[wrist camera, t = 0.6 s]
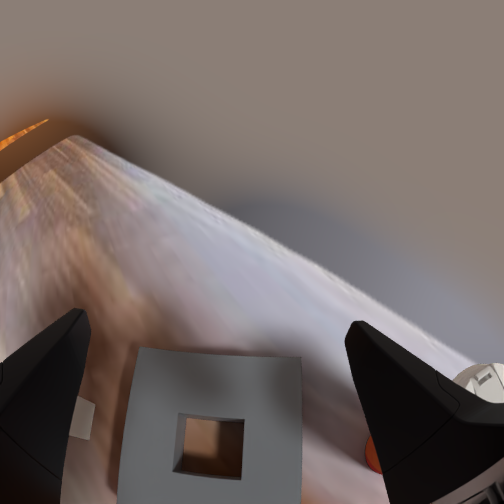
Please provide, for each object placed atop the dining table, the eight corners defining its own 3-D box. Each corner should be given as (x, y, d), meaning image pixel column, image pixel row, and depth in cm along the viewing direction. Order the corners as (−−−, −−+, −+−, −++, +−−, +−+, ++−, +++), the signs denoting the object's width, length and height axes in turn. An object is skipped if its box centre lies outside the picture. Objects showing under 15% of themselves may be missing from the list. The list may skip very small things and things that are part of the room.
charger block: (89, 440, 19) (51, 430, 14) (59, 428, 19) (20, 414, 14) (95, 404, 21) (60, 386, 16) (65, 394, 21) (29, 374, 17)
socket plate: (293, 529, 14) (298, 537, 12) (130, 509, 14) (116, 513, 12) (296, 367, 24) (301, 357, 22) (150, 358, 25) (139, 346, 23)
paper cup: (344, 426, 20) (429, 388, 10) (413, 399, 21) (511, 336, 11) (363, 499, 15) (462, 518, 5) (433, 464, 16) (543, 438, 6)
